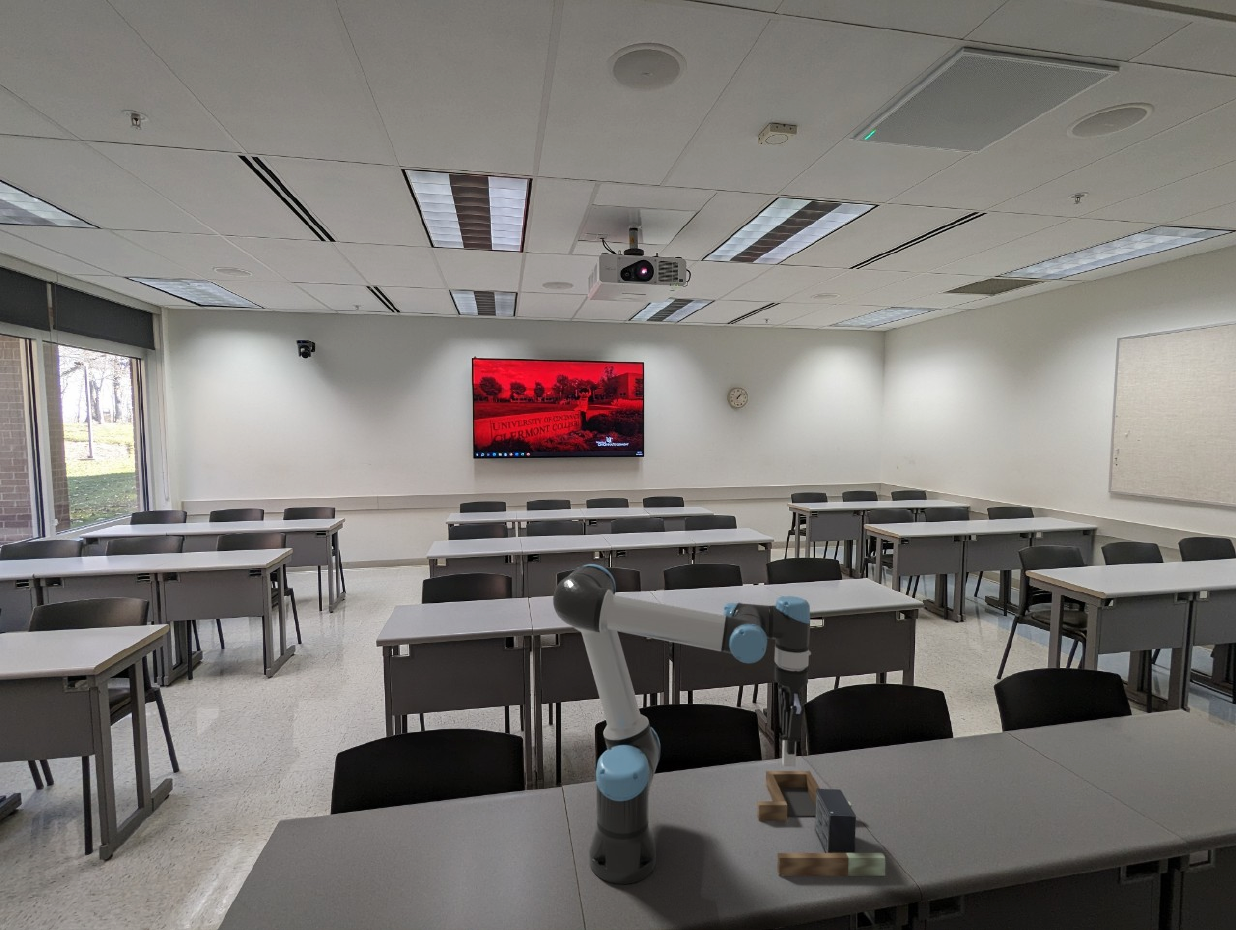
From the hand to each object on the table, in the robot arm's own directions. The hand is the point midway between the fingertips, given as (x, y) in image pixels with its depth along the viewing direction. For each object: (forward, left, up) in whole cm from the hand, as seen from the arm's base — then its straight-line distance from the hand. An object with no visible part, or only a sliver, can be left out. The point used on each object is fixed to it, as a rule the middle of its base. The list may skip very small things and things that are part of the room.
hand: (788, 764), depth 138 cm
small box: (+11, 0, -19) cm, 22 cm away
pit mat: (+7, +16, -19) cm, 26 cm away
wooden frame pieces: (+7, +7, -19) cm, 21 cm away
